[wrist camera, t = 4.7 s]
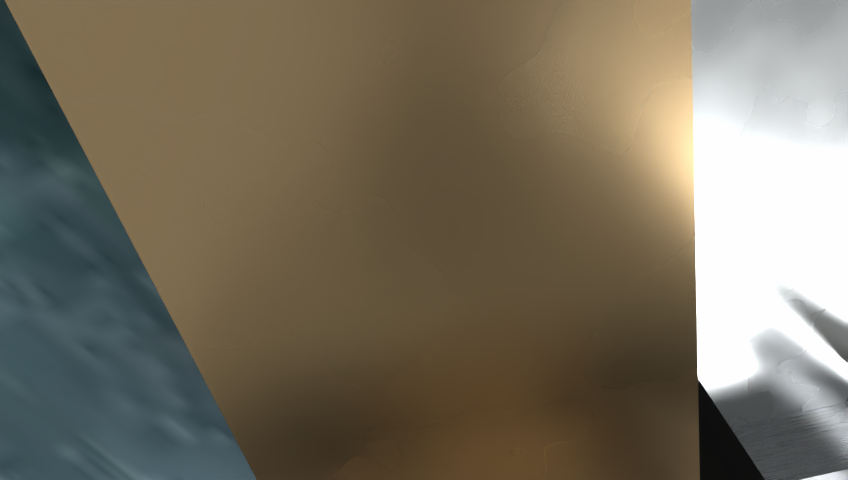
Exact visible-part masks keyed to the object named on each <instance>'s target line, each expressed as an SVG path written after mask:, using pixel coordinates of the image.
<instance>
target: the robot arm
mask: <svg viewBox="0 0 848 480" xmlns="http://www.w3.org/2000/svg"><path fill="white" fill-rule="evenodd" d="M698 408H699V462H700V480H765V479H764V477H763V476H762V474H761V473H760V471H759V470H758V468H757V467H756V465H755V464H754V462H753V461H752V459H751V458H750V456H749V455H748V453H747V452H746V450H745V449H744V447H743V446H742V444H741V443H740V441H739V440H738V438H737V437H736V435H735V433H734V432H733V430H732V429H731V427H730V426H729V424H728V423H727V421H726V420H725V418H724V417H723V415H722V414H721V412H720V411H719V409H718V408H717V406H716V405H715V403H714V402H713V400H712V399H711V397H710V396H709V394H708V393H707V391H706V390H705V388H704V387H703V385H702V384H701V382H700V381H699V379H698Z"/></svg>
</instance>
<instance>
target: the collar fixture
mask: <svg viewBox="0 0 848 480" xmlns="http://www.w3.org/2000/svg"><path fill="white" fill-rule="evenodd" d="M691 29H692V83H693V137H694V192H695V246H696V300H697V354H698V379H699V381H700V382H701V384H702V385H703V387H704V388H705V390H706V391H707V393H708V394H709V396H710V397H711V399H712V400H713V402H714V403H715V405H716V406H717V408H718V409H719V411H720V412H721V414H722V415H723V417H724V418H725V420H726V421H727V423H728V424H729V426H730V427H731V429H732V430H733V432H734V433H735V435H736V437H737V438H738V440H739V441H740V443H741V444H742V446H743V447H744V449H745V450H746V452H747V453H748V455H749V456H750V458H751V459H752V461H753V462H754V464H755V465H756V467H757V468H758V470H759V471H760V473H761V474H762V476H763V477H764V479H765V480H848V0H691Z"/></svg>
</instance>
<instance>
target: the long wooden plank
mask: <svg viewBox="0 0 848 480" xmlns="http://www.w3.org/2000/svg"><path fill="white" fill-rule="evenodd" d="M5 2H6V4H7V6H8V8H9V10H10V12H11V13H12V15H13V17H14V19H15V21H16V23H17V25H18V27H19V29H20V31H21V32H22V34H23V36H24V38H25V40H26V42H27V44H28V46H29V48H30V50H31V51H32V53H33V55H34V57H35V59H36V61H37V63H38V65H39V67H40V69H41V70H42V72H43V74H44V76H45V78H46V80H47V82H48V84H49V86H50V88H51V89H52V91H53V93H54V95H55V97H56V99H57V101H58V103H59V105H60V107H61V108H62V110H63V112H64V114H65V116H66V118H67V120H68V122H69V124H70V126H71V127H72V129H73V131H74V133H75V135H76V137H77V139H78V141H79V143H80V145H81V146H82V148H83V150H84V152H85V154H86V156H87V158H88V160H89V162H90V164H91V165H92V167H93V169H94V171H95V173H96V175H97V177H98V179H99V181H100V183H101V184H102V186H103V188H104V190H105V192H106V194H107V196H108V198H109V200H110V202H111V203H112V205H113V207H114V209H115V211H116V213H117V215H118V217H119V219H120V221H121V222H122V224H123V226H124V228H125V230H126V232H127V234H128V236H129V238H130V240H131V241H132V243H133V245H134V247H135V249H136V251H137V253H138V255H139V257H140V259H141V260H142V262H143V264H144V266H145V268H146V270H147V272H148V274H149V276H150V278H151V279H152V281H153V283H154V285H155V287H156V289H157V291H158V293H159V295H160V297H161V298H162V300H163V302H164V304H165V306H166V308H167V310H168V312H169V314H170V316H171V317H172V319H173V321H174V323H175V325H176V327H177V329H178V331H179V333H180V335H181V336H182V338H183V340H184V342H185V344H186V346H187V348H188V350H189V352H190V354H191V355H192V357H193V359H194V361H195V363H196V365H197V367H198V369H199V371H200V373H201V374H202V376H203V378H204V380H205V382H206V384H207V386H208V388H209V390H210V392H211V393H212V395H213V397H214V399H215V401H216V403H217V405H218V407H219V409H220V411H221V412H222V414H223V416H224V418H225V420H226V422H227V424H228V426H229V428H230V430H231V431H232V433H233V435H234V437H235V439H236V441H237V443H238V445H239V447H240V449H241V450H242V452H243V454H244V456H245V458H246V460H247V462H248V464H249V466H250V468H251V469H252V471H253V473H254V475H255V477H256V479H257V480H700V462H699V408H698V354H697V300H696V246H695V192H694V137H693V83H692V29H691V0H5Z"/></svg>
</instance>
